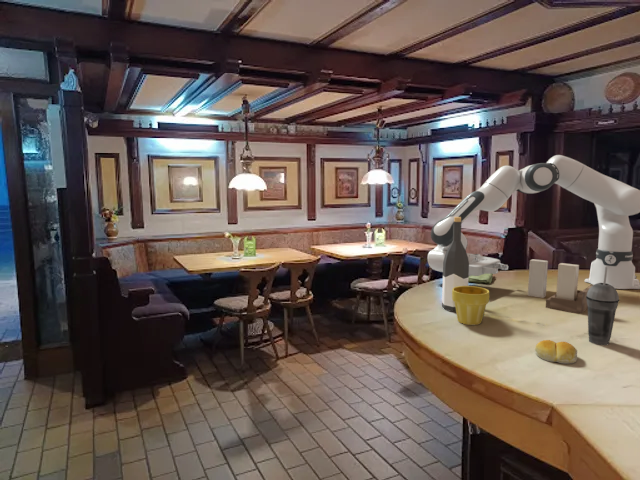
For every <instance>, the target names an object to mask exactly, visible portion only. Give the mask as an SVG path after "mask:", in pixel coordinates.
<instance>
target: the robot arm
mask: <svg viewBox="0 0 640 480" xmlns="http://www.w3.org/2000/svg"><path fill="white" fill-rule="evenodd" d="M554 184H555V185H558V186H560V187H561V188H562V189H565V190H566V191H568V192H571V193H572V194H574V195H576V196H578V197H580V198H582V199H584V200H586V201H589V202H590V203H592V204H594V207H595V210H596V216H597V221H598V222H597V223H598V245H597V247H598V248H596V252H595V255H596V256H595V258H596V259H594V260H592V261H591V264H590V270H589V277H588V278H585V279H584V282H585V283H589V284H590V285H595V284H597V283H603V281H604V273H605V267H607V276H606V283H607V284H609V285H611V286H613V287H614V288H615V289H618V290H619V289H620V290H628V289H629V290H630V289H633V290H640V280H639V279H637V278H638V276H637V275H635V274H636V266H635V265H634V263H633V262H632V260H633V256H634V255H633V251H632V248H633V237H634V230H633V228H632V226H631V223H630V218H629V216H634V215H638V214H639V213H640V189H638V188H636V187H634V186H631V185H629V184H627V183H625V182H623V181H621V180H617V179H615V178H613V177H610V176H608V175H605V174H603V173H601V172H599V171H597V170H595V169H594V168H591V167H589V166H587V165H586V164H584V163H582V162H580V161H578V160H577V159H573V158H571V157H569V156H565V155H561V154H556V155H553V156H552V157H550V158H549V159H548V160H547V161H546V162H540V163H539V162H538V163H534V164H531V165H527V166H525V167H524V168H521V169H516V167H513V166H511V165H502V166H501V167H499V168H498V169H497V170H496V171H494V172H493V173H492V174H491V175H490V176H489V177H488V179H486V181H484V183H483V184H482V185H481V186H480V187H479V188H478V189H476V190H475V191H472V192H471V193H469V194H467V196H465V197H464V199H462V200H461V201H460V202H459V203H458V204H457V205H456V206H455V207H454V208H453V209H452V210H451V211H450V212H449V213H448V214H447V215H445V216H444V217H443V218H441V219H440V220H438V221H436V223H434V225H433V226H432V228H431V230H430V238H431V240H432V242H434V243H435V244H436V246H435V247H434V248H433V249H431V250H430V251H429V252H428V253H427V263H428V266H429V268H431V269H432V270H433V271H437V272H440V273H443V261H444V257H445V254H446V252H447V250H448V248H449V246H450V245H451V243H452V241H453V224H454V223H453V222H454V217H461V222H462V223H464V222H465V221H466V220H467V219H468V218H469V216H471V214H473V213H474V212H476V211H483V212H495V211H498V210H499V209H500V208H502V206H503V205H504V204H505V203H506V202H507V201H508V200H509V198H510V197H511V196H512V194H514V193H515V192H519V193H521V194H527V195H529V194H537V193H540V192H544V191H546V190H548V189H550V188H551V187H552V186H553V185H554ZM461 242H462V244H463V246H464V248H465V250H467V248H468V244H469V242H468V239H467V237H466V236H465V234H463V232H462V231H461ZM466 253H467V256H468V260H469V276H471V275H473V276H479V275H482V274H490V273H492V274H493V275H497V274H498V270H501V271H508V270H509V265H508V264H504V263H501V260H500V259H498V258H494V257H489V256H483V255H481V254H480V253H469V252H466Z"/></svg>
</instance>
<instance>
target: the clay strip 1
mask: <svg viewBox="0 0 640 480" xmlns="http://www.w3.org/2000/svg"><path fill="white" fill-rule="evenodd" d="M528 266H529V269H528V283H527V284H528V285H527V288H528V289H527V296H529V297H534V298H535V297H536V298H542V299H544V298H545V297H546V296H547V285H548V284H547V282H548V267H549V260H545V259H544V260H543V259H536V258H535V259H533V258H532V259H530V260H529V265H528Z"/></svg>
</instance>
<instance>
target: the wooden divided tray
mask: <svg viewBox="0 0 640 480" xmlns="http://www.w3.org/2000/svg"><path fill="white" fill-rule="evenodd" d="M592 286H593V284H590V285H589V286H588V287H585V288H584V289H583V290H580V289H579V290H578V289H577V300H576V301H574V300H568V299H562V298H556V294H557V293H554V294H553V295H552V296H550V297H547V298H546V299H545V308H546V309H553V310H557V311H558V310H559V311H565V312H569V313H574V314H580V315H581V314H583V313H584V312H585V311H586V310H588V305H587V298H586V296H587V292H588V290H589V289H590V287H592Z"/></svg>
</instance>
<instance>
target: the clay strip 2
mask: <svg viewBox="0 0 640 480" xmlns="http://www.w3.org/2000/svg"><path fill="white" fill-rule="evenodd" d="M579 272H580V264H572V263H565V262H564V263H563V262H560V263H559V264H558V267H557V282H556V293H555V294H556V298H562V299H568V300H574V301H576V300H577V290H578V286H579V284H578V283H579V282H578V281H579Z"/></svg>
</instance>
